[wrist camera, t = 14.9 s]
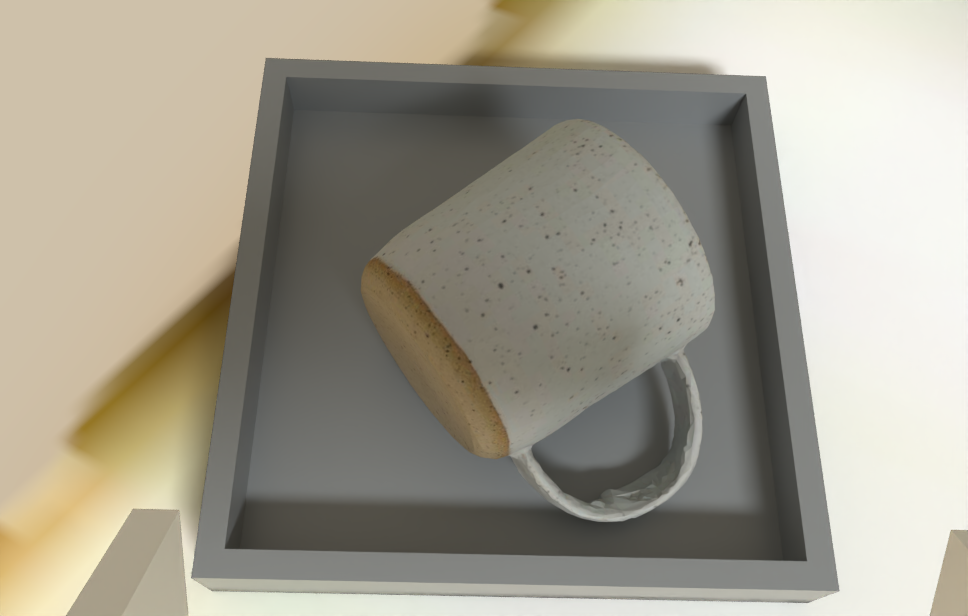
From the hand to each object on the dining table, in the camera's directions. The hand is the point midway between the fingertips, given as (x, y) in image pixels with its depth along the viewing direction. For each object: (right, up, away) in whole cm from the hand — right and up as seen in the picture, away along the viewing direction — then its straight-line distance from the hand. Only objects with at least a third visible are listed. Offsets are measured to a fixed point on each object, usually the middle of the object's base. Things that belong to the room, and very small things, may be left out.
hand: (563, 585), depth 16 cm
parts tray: (0, +4, +16) cm, 16 cm away
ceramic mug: (+1, +3, +15) cm, 15 cm away
